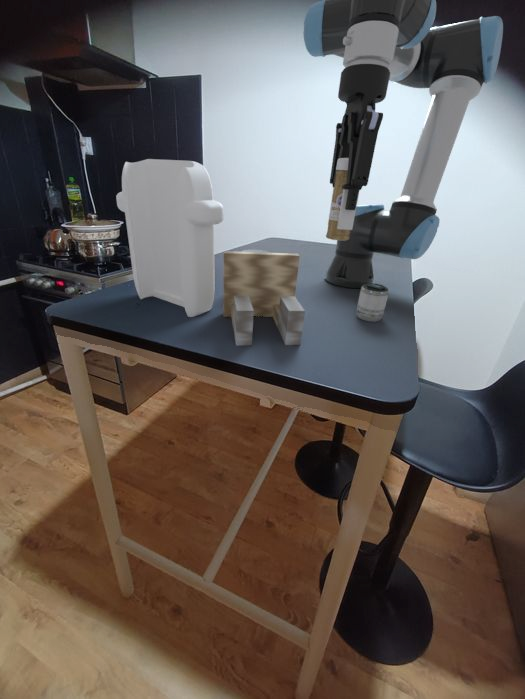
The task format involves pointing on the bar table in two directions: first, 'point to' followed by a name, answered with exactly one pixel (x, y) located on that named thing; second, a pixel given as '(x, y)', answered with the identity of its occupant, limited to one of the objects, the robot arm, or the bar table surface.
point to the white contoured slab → (171, 231)
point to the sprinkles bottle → (338, 202)
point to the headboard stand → (262, 293)
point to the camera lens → (372, 302)
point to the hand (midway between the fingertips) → (339, 227)
